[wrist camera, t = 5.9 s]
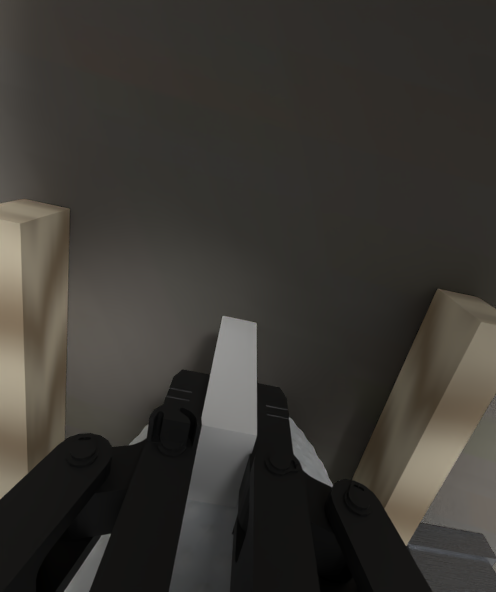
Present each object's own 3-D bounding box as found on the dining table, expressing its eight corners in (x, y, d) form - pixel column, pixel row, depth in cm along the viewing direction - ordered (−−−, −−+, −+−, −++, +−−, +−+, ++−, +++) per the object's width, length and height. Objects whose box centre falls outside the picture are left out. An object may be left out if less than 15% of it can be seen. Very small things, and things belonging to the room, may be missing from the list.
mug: (209, 556, 24) (159, 961, 12) (64, 480, 22) (-177, 888, 10) (367, 423, 20) (544, 867, 7) (205, 308, 17) (79, 683, 5)
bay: (23, 198, 15) (-77, 218, 11) (478, 297, 17) (563, 353, 12) (32, 520, 23) (-25, 611, 19) (340, 572, 24) (359, 671, 20)
